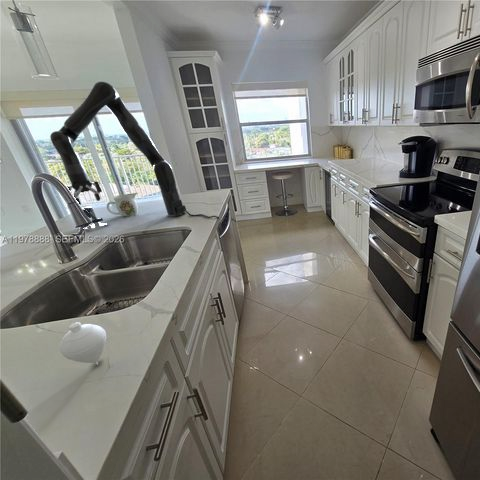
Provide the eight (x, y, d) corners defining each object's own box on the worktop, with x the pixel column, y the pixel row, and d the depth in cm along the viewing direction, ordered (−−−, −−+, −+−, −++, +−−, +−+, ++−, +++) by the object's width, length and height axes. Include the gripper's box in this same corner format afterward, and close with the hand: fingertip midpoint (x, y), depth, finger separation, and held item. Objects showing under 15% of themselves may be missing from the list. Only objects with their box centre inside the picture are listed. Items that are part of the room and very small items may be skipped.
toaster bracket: (107, 225, 151) (99, 206, 146) (89, 231, 144) (80, 211, 139) (97, 223, 156) (89, 204, 152) (79, 228, 149) (70, 209, 144)
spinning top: (68, 373, 58) (41, 333, 53) (104, 347, 64) (83, 309, 59) (89, 383, 55) (63, 342, 50) (124, 355, 61) (104, 316, 56)
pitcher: (112, 217, 166) (103, 196, 160) (144, 211, 175) (137, 191, 169) (111, 221, 158) (102, 200, 152) (145, 215, 167) (138, 194, 161)
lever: (103, 221, 146) (102, 218, 145) (93, 224, 143) (92, 221, 141) (90, 210, 149) (89, 206, 148) (79, 212, 145) (79, 209, 144)
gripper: (62, 175, 127) (76, 206, 133) (95, 170, 138) (107, 200, 144) (56, 174, 130) (70, 205, 137) (89, 170, 141) (101, 198, 148)
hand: (89, 202), depth 140 cm, fingers open, 8 cm apart
